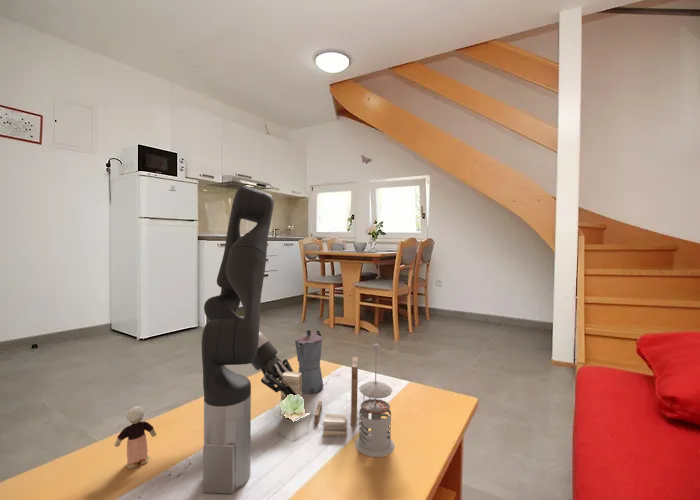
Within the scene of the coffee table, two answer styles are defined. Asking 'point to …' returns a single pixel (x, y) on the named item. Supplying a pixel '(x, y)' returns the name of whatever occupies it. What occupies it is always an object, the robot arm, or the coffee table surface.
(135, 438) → the grandmother figurine
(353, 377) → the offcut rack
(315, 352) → the moka pot
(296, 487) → the coffee table surface
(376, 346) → the french press
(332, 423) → the offcut stack
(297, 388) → the light wooden block
